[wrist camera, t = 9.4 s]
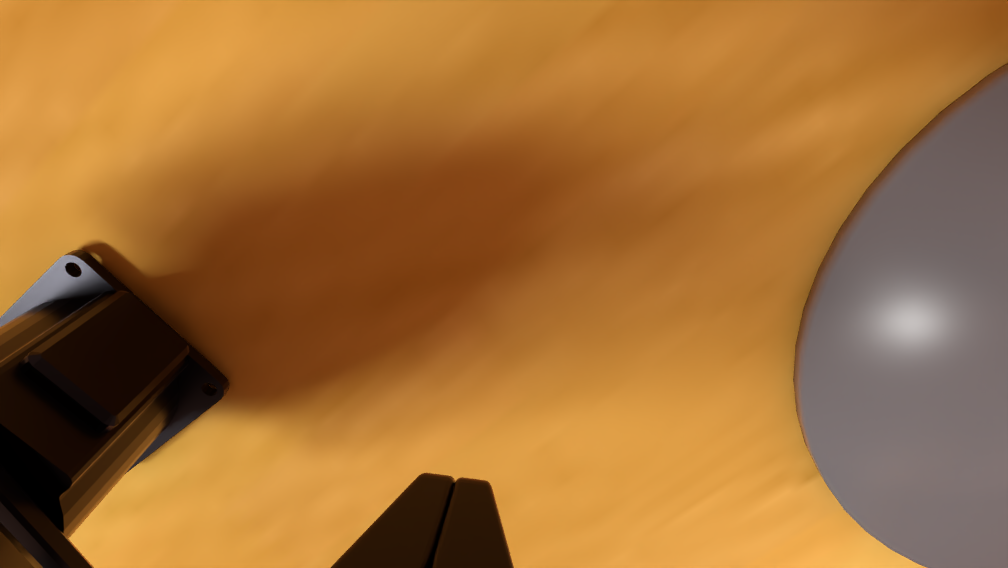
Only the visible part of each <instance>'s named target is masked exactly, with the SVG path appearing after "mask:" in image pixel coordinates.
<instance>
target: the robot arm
mask: <svg viewBox="0 0 1008 568" xmlns="http://www.w3.org/2000/svg"><path fill="white" fill-rule="evenodd" d="M74 263H76V264H77V265H79V267H80V268H81V271H82V272H81V271H79V270H77V269H76V267H75V266H74ZM208 383H211V384H212V385H214V386H215V387H216V389H213V388H211V387H210V386H209V385H208ZM228 389H229V382H228V379H227V378H226V377H225V376H224V375H223V374H222V373H221V372H220V371H219V370H218V369H217V368H216V367H214V366H213V365H212V364H211V363H210V362H209V361H208V360H207V359H206V358H204V357H203V356H202V355H201V354H200V353H199V352H198V351H197V350H196V349H194V348H193V347H192V346H191V345H190V344H189V343H188V342H187V341H186V340H184V339H183V338H182V337H181V336H180V335H179V334H178V333H177V332H175V331H174V330H173V329H172V328H171V327H170V326H169V325H168V324H167V323H165V322H164V321H163V320H162V319H161V318H160V317H159V316H158V315H157V314H155V313H154V312H153V311H152V310H151V309H150V308H149V307H148V306H147V305H145V304H144V303H143V302H142V301H141V300H140V299H139V298H138V297H136V296H135V295H134V294H133V293H132V292H131V291H130V290H129V289H128V288H126V287H125V286H124V285H123V284H122V283H121V282H120V281H119V280H118V279H116V278H115V277H114V276H113V275H112V274H111V273H110V272H109V271H108V270H106V269H105V268H104V267H103V266H102V265H101V264H100V263H99V262H97V261H96V260H95V259H94V258H93V257H92V256H91V255H89V254H88V253H86V252H84V251H80V250H75V251H72V252H70V253H68V254H66V255H64V256H63V257H61V258H59V259H58V260H57V261H56V262H55V263H54V264H53V265H52V266H51V267H50V268H49V269H48V270H47V271H46V272H45V273H44V274H43V275H42V276H41V277H40V278H39V279H38V280H37V281H36V282H35V283H34V284H33V285H32V286H31V287H30V288H29V289H28V290H27V291H26V292H25V293H24V294H23V295H22V296H21V297H20V298H19V299H18V300H17V301H16V302H15V303H14V304H13V305H12V306H11V307H10V308H9V309H8V310H7V311H6V312H5V313H4V314H3V315H2V316H1V317H0V568H94V567H93V566H92V565H91V564H90V563H89V562H88V561H87V559H86V558H85V557H84V556H83V555H82V554H81V553H80V552H79V550H78V549H77V548H76V547H75V546H74V545H73V544H72V543H71V542H70V540H69V539H68V538H69V537H70V536H71V535H72V534H73V533H74V532H75V530H76V529H77V528H78V527H79V526H80V525H81V524H82V522H83V521H84V520H85V519H86V518H87V517H88V516H89V514H90V513H91V512H92V511H93V510H94V509H95V508H96V506H97V505H98V504H99V503H100V502H101V501H102V500H103V498H104V497H105V496H106V495H107V494H108V493H109V492H110V490H111V489H112V488H113V487H114V486H115V485H116V484H117V482H118V481H119V480H120V479H121V478H122V477H123V476H124V474H126V473H127V472H128V471H129V470H131V469H132V468H133V467H135V466H136V465H137V464H138V463H140V462H141V461H142V460H143V459H145V458H146V457H147V456H149V455H150V454H151V453H152V452H154V451H155V450H156V449H158V448H159V447H160V446H161V445H163V444H164V443H165V442H167V441H168V440H169V439H170V438H172V437H173V436H174V435H176V434H177V433H178V432H179V431H181V430H182V429H183V428H185V427H186V426H187V425H188V424H190V423H191V422H192V421H194V420H195V419H196V418H197V417H199V416H200V415H201V414H203V413H204V412H205V411H206V410H208V409H209V408H210V407H212V406H213V405H214V404H215V403H217V402H218V401H219V400H221V398H222V397H223V396H224V395H225V393H226V392H227V391H228ZM331 568H514V567H513V563H512V559H511V556H510V552H509V548H508V545H507V541H506V538H505V534H504V530H503V527H502V523H501V519H500V516H499V512H498V508H497V505H496V501H495V497H494V494H493V490H492V487H491V485H490V483H489V482H488V481H485V480H477V479H470V478H459V479H457V480H456V482H455V480H454V478H453V477H451V476H447V475H439V474H431V473H423V474H421V475H419V476H418V477H417V478H416V479H415V480H414V481H413V482H412V483H411V484H410V485H409V486H408V488H407V489H406V490H405V491H404V492H403V493H402V494H401V495H400V496H399V497H398V498H397V499H396V500H395V501H394V502H393V503H392V504H391V505H390V506H389V507H388V508H387V509H386V510H385V512H384V513H383V514H382V515H381V516H380V517H379V518H378V519H377V520H376V521H375V522H374V523H373V524H372V525H371V526H370V527H369V528H368V529H367V530H366V531H365V532H364V533H363V534H362V535H361V537H360V538H359V539H358V540H357V541H356V542H355V543H354V544H353V545H352V546H351V547H350V548H349V549H348V550H347V551H346V552H345V553H344V554H343V555H342V556H341V557H340V558H339V559H338V560H337V562H336V563H335V564H334V565H333V566H332V567H331Z"/></svg>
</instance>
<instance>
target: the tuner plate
mask: <svg viewBox="0 0 1008 568" xmlns="http://www.w3.org/2000/svg"><path fill="white" fill-rule="evenodd" d="M793 381H794V391H795V401H796V411H797V416H798V419H799V423H800V427H801V430H802V434H803V438H804V441H805V444H806V446H807V448H808V450H809V452H810V454H811V456H812V459H813V461H814V463H815V465H816V467H817V469H818V471H819V472H820V474H821V476H822V478H823V479H824V481H825V483H826V484H827V486H828V487H829V489H830V490H831V492H832V493H833V494H834V496H835V497H836V499H837V500H838V501H839V503H840V504H841V506H842V507H843V508H844V510H845V511H846V512H847V513H848V514H849V515H850V516H851V517H852V518H853V519H854V520H855V521H856V522H857V523H858V524H859V525H860V526H861V527H862V528H863V529H864V530H865V531H866V532H868V533H869V534H870V535H872V536H873V537H874V538H876V539H877V540H879V541H880V542H881V543H883V544H884V545H885V546H887V547H888V548H890V549H891V550H893V551H895V552H897V553H899V554H900V555H902V556H904V557H906V558H908V559H910V560H912V561H914V562H916V563H918V564H920V565H922V566H925V567H928V568H1008V63H1007V64H1006V65H1004V66H1003V67H1001V68H999V69H998V70H996V71H995V72H993V73H991V74H990V75H988V76H987V77H986V78H984V79H983V80H982V81H980V82H979V83H978V84H977V85H975V86H974V87H973V88H971V89H970V90H969V91H967V92H966V93H965V94H964V95H962V96H961V97H960V98H958V99H957V100H956V101H954V102H953V103H952V104H951V105H949V106H948V107H947V108H945V109H944V110H943V111H942V112H940V113H939V114H938V115H937V116H936V117H935V118H934V119H933V120H932V121H931V122H930V123H929V124H928V125H927V126H926V127H925V128H924V129H922V130H921V131H920V132H919V133H918V134H917V135H916V136H915V137H914V138H913V139H912V140H911V141H910V142H909V143H908V144H907V145H906V146H904V147H903V148H902V149H901V150H900V151H899V153H898V154H897V155H896V156H895V157H894V158H893V160H892V161H891V162H890V163H889V164H888V165H887V167H886V168H885V169H884V170H883V171H882V172H881V174H880V175H879V176H878V177H877V178H876V179H875V181H874V182H873V183H872V184H871V185H870V186H869V188H868V189H867V190H866V191H865V193H864V194H863V196H862V197H861V199H860V200H859V202H858V203H857V204H856V206H855V207H854V209H853V210H852V212H851V213H850V215H849V216H848V218H847V219H846V220H845V222H844V223H843V225H842V226H841V228H840V229H839V231H838V233H837V235H836V237H835V239H834V240H833V242H832V244H831V246H830V248H829V250H828V252H827V254H826V256H825V258H824V260H823V261H822V263H821V265H820V267H819V269H818V271H817V274H816V277H815V280H814V282H813V285H812V288H811V290H810V293H809V296H808V298H807V301H806V304H805V307H804V310H803V314H802V319H801V323H800V328H799V333H798V337H797V342H796V348H795V364H794V379H793Z"/></svg>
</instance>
